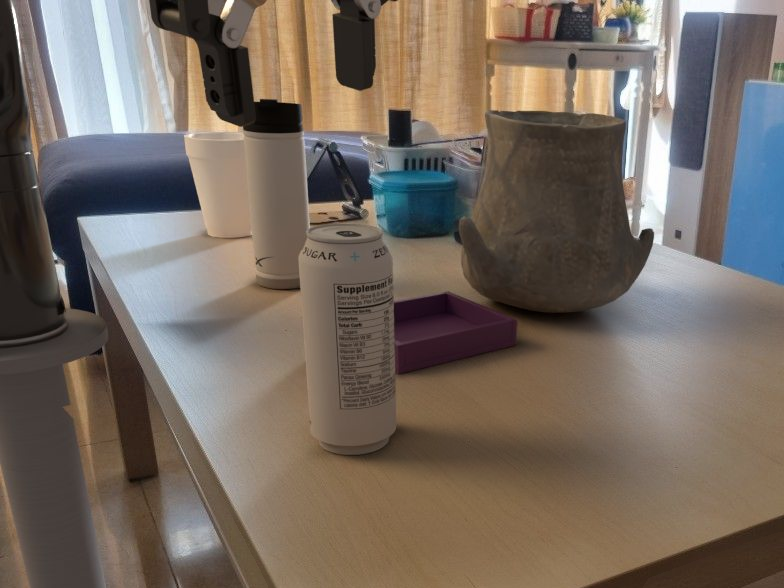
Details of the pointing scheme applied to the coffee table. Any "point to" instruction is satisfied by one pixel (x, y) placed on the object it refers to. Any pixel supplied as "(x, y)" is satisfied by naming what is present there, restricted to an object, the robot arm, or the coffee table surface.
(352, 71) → the robot arm
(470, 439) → the coffee table surface
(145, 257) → the coffee table surface
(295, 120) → the travel mug
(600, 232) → the vessel
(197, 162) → the foam cup
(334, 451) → the energy drink can
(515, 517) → the coffee table surface
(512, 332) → the tray
